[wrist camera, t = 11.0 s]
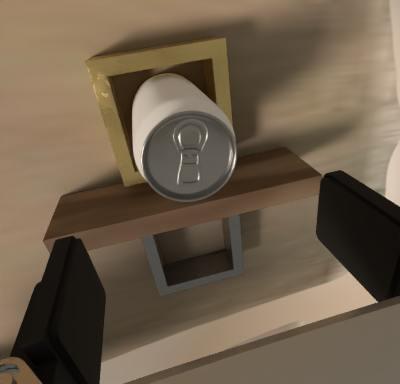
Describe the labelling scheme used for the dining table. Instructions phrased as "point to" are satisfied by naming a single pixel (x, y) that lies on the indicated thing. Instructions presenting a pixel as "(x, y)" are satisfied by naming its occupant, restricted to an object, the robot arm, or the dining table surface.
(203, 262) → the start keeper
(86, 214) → the brown wooden plank
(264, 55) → the dining table surface
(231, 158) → the can
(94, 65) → the brass keeper
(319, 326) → the robot arm
